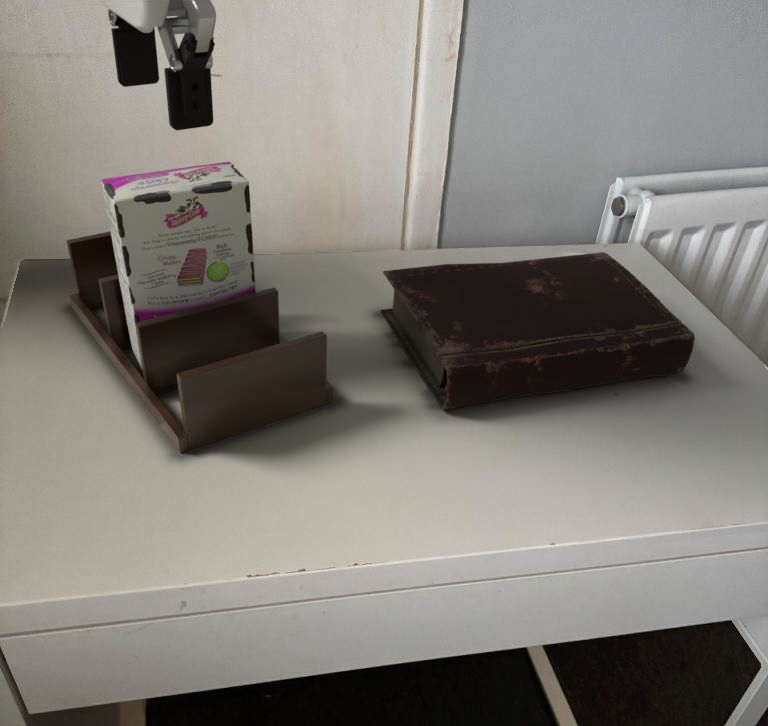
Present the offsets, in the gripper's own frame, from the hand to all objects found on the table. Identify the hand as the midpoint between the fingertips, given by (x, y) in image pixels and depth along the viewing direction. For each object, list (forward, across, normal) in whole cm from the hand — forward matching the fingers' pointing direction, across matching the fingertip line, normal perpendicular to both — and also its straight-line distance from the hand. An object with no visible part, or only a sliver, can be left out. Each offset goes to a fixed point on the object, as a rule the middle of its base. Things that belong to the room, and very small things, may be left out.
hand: (164, 104), depth 63 cm
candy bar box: (+22, +1, 0) cm, 22 cm away
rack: (+22, +1, +1) cm, 22 cm away
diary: (+22, +15, +30) cm, 39 cm away
